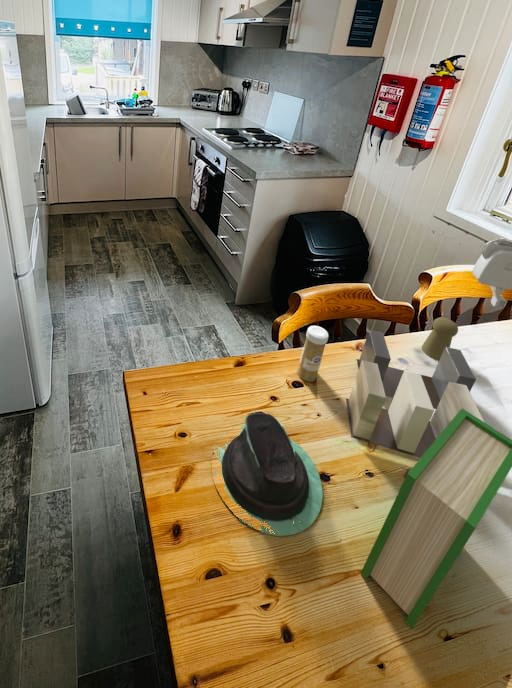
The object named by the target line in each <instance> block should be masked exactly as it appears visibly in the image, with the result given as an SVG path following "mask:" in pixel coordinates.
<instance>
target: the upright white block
mask: <svg viewBox="0 0 512 688" xmlns="http://www.w3.org/2000/svg"><path fill="white" fill-rule="evenodd" d="M403 370H404V369H403ZM421 375H422V374H420V373H416V372H412V371H409V370H404V372H403V375H402V377H401V380H400V382H399V385H398V387H397V390H396V392H395V395H394V397H392V400H391V402H390V405H389V407H388V409H387V410H388V414H389V418H390V422H391V425H392V429H393V433H394V437H395V441H396V445H397V449H401V450H404V451H408V452H411V453H415V451H416V448H417V446H418V444H419V442H420V440H421V438H422V436H423V433H424V431H425V429H426V427H427V425H428V423H429V421H431V419H432V417H433V415H434V413H435V408H433V406H432V404H431V401H430V398H429V396H428V393H427V390H426V388H425V385H424V382H423V380H422V377H421Z"/></svg>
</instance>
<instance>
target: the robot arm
mask: <svg viewBox="0 0 512 688" xmlns="http://www.w3.org/2000/svg"><path fill="white" fill-rule="evenodd" d="M471 271H472V275H473V276H474V278H475V279H476V280H477V282H478V283H479V284H480V285H483V286H487V287H490V289H491V293H492V297H491V299H490V304H491V306H492V307H497V308H500V309H504V308H505V305H506V304H507V299H506V298H505V297H504V296H503V295H501V293H505V291H506V290H511V291H512V240H511V239H507V238H502V237H500V238H497V239H493V240H490V241H488V242H486V243H485V245H484V247H483V249H482V253H481V254H480V256H479V257H478V259H477V261H476V263H475V264H474V266H473V268H472V270H471Z"/></svg>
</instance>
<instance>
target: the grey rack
mask: <svg viewBox="0 0 512 688" xmlns="http://www.w3.org/2000/svg"><path fill="white" fill-rule="evenodd" d="M391 359H392V358H391V355H390V352H389V349H388V345H387V342H386V339H385V335H384V332H381V331H378V330H372V329H369V330H368V332H367V336H366V338H365V341H364V344H363V348H362V351H361V354H360V357H359V359H358V358H356V363H357V364H356V365H357V369H358V370H359V367H360V364H361V361H362V360H364V361H368V362H372V363H376V364H378V368H379V372H380V376H381V380H382V384H383V388H384V392H385V395H386V397H389V398H393V397H394V395H395V392H396V390H397V387H398V385H399V382H400V380H401V377H402V375H403V372H404V369H398V368H395V367H391V366H390V363H391ZM434 369H435V370H434V372H433V374H432V376H428V375H424V374H421V377H422V380H423V382H424V385H425V388H426V390H427V393H428V396H429V398H430V401H431V404H432V406H433V409H434V410H436V409H437V407H438V404H439V402H440V400H441V398H442V396H443V394H444V392H445V389H446V387H447V385H448V383H449V382H453V383H458V384H462V385H466V386H467V388H468V390H469V392H470V393H471V391H472V389H473V387H474V384H475V383H476V381H477V378H476V376H475V375H474V373H473V370H472V369H471V367H470V365H469V363H468V361H467V360H466V358H465V356H464V354H463V352H462V350H461V349H457V348H454V347H453V348H452V347H450V348H449V347H445V349H444V351H443V354H442V356H441V358H440V360H438V363H437V364H436V367H435V368H434Z"/></svg>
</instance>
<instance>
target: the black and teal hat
mask: <svg viewBox="0 0 512 688" xmlns="http://www.w3.org/2000/svg"><path fill="white" fill-rule="evenodd" d="M240 426H241V429H242V428H243V429H242V432H239V434H240V435H239V436H237V437H236V438H234V439H233V440H232V441H231V442H229V443H230V444H228V445H227V444H225V445H226V446H225V447H226V448H227V449H226V450H224V449H223V450H222V448H221V447H218V446H217V447H218V450H219V451H220V452H219V453H220V455H219V453H218V455H219V456H220V457H221V458H219V457H218V456H217V454H216V453H215V454H216V457H217V458H219V459H220V460H219V461H220V462H221V465H222V475H223V478H224V482H225V486H226V487H225V488H224V490H225V489H227V491H228V492H229V493H228V494H229V495H230V496H231V498H232V499H231V501H232V500H234V502H236V504H239V505H238V506H241V508H242V509H244V510H246V512H247V513H248V514H249V515H251V517H254V518H256V519H258V520H259V521H262V522H263V523H264V521H265V523H268V524H267V525H269V526H271V527H270V529H271V530H273V531H274V533H275V534H274V533H272V532H273V531H271V533H272V535H271V534H270V532H269V530H270V529H268V528H267V531H266V527H265V528H264V526H261V525H260V526H261V529H262V530H261V532H260V533H263V534H267V535H270V536H277V537H280V536H292V535H296V534H300V533H302V532H303V531H305V530H306V529H308V528H310V526H311V525H312V524H313V523H314V522H315V521H316V519H317V518H318V516H319V514H320V511H321V508H322V504H323V497H324V496H323V495H324V494H323V485H322V481H321V477H320V474H319V472H318V469H317V466H316V464H315V462H314V461H313V459H311V457H310V456H309V454H308V453H307V452H306V451H305V450H304V449H303V448H302V447H301V446H300V444H298V443H297V442H295V441H294V440H292V439H291V438H290V437H289V435H288V433H287V431H286V429H285V426H284V425H283V424H282V423H281V421H279V420H278V419H277V418H276V417H275V416H274V415H272V414H270V413H264V412H256V411H255V410H253V412H252V413H251V414H250V413H249V414H248V415H246V416H245V419H244V425H240ZM225 434H226V432H225V433H223V434H222V436H223V437H224V435H225ZM227 442H228V441H227ZM216 452H217V451H216ZM214 473H215V474H216V472H214ZM219 473H221V472H219ZM215 474H214V475H215ZM227 491H226V492H227ZM240 518H241V517H240ZM244 519H245V518H244ZM243 521H244V520H243ZM243 521H241V522H242V523H243ZM245 521H246V520H245ZM245 521H244V523H243V524H245ZM293 521H294V524H293ZM299 521H300V522H299ZM262 522H261V523H262ZM247 523H249V522H247ZM262 525H263V524H262ZM247 526H249V525H247ZM251 526H252V523H251V525H250V526H249V527H250V528H252V527H251ZM269 526H268V527H269ZM253 527H254V526H253ZM262 531H263V532H262ZM264 532H265V533H264Z"/></svg>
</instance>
